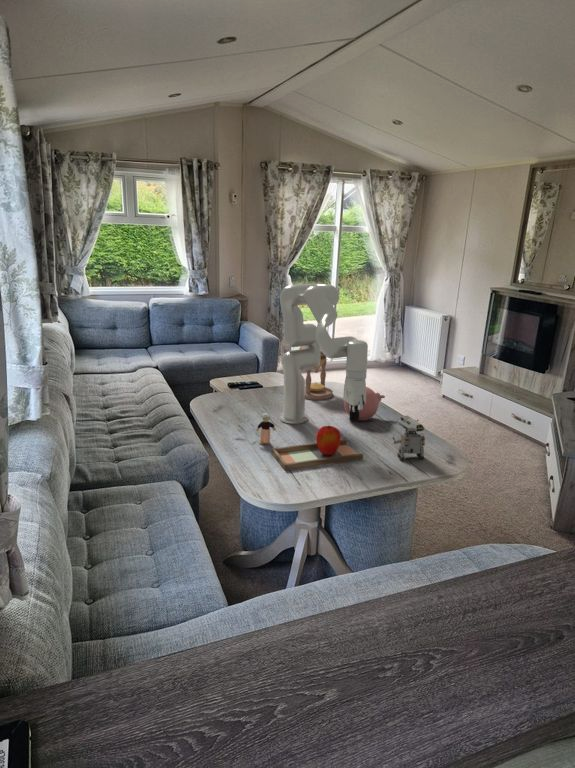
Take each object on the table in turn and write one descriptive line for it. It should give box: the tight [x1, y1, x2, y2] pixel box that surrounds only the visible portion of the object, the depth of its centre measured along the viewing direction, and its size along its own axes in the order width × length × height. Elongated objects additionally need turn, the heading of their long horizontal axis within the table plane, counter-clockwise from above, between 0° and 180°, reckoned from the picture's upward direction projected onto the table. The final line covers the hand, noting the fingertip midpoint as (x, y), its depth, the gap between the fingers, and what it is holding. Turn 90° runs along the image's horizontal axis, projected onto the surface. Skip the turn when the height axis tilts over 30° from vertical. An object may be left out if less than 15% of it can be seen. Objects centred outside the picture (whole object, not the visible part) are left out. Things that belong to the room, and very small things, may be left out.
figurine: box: [392, 415, 426, 461], centre depth 200 cm, size 9×12×15 cm
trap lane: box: [271, 438, 364, 472], centre depth 200 cm, size 15×31×2 cm, turn 110°
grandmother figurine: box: [255, 412, 276, 445], centre depth 210 cm, size 8×4×13 cm, turn 105°
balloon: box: [343, 386, 386, 421], centre depth 238 cm, size 15×20×15 cm
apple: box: [315, 425, 342, 456], centre depth 200 cm, size 9×9×12 cm
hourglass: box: [298, 346, 334, 401], centre depth 269 cm, size 18×18×25 cm
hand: (354, 420), depth 201 cm, fingers closed
